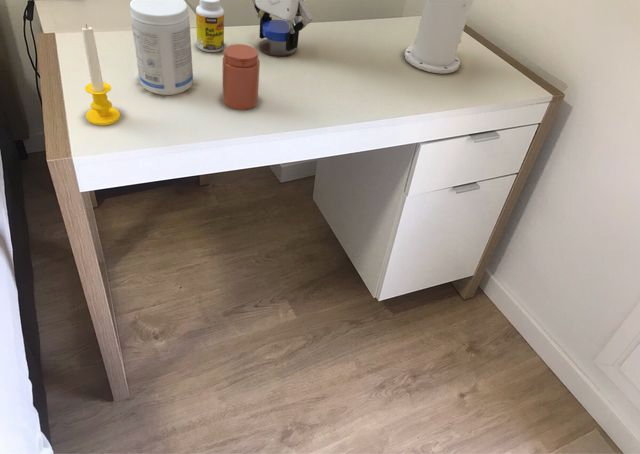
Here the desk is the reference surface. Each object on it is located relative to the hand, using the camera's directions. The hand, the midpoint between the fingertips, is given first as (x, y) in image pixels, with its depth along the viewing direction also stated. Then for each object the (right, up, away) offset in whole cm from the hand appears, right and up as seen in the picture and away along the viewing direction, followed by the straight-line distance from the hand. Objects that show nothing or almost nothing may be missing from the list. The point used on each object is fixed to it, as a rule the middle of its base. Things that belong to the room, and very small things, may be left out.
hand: (278, 42), depth 111 cm
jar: (-6, -17, -17) cm, 24 cm away
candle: (-27, -22, -26) cm, 43 cm away
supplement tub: (-20, -14, -15) cm, 28 cm away
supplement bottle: (-14, -2, -3) cm, 14 cm away
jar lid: (0, +2, -2) cm, 3 cm away
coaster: (0, -1, +1) cm, 2 cm away
